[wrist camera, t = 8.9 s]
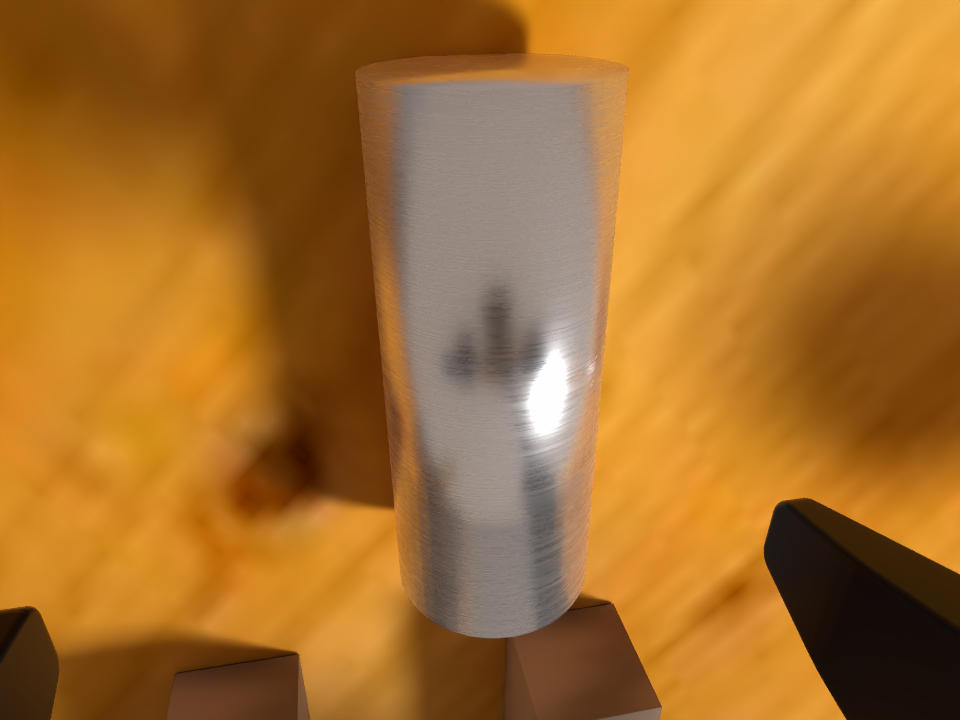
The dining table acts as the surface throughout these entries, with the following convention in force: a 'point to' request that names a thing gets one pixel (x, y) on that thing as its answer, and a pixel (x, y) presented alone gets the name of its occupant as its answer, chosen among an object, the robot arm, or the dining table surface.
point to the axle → (492, 320)
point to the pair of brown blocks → (528, 687)
